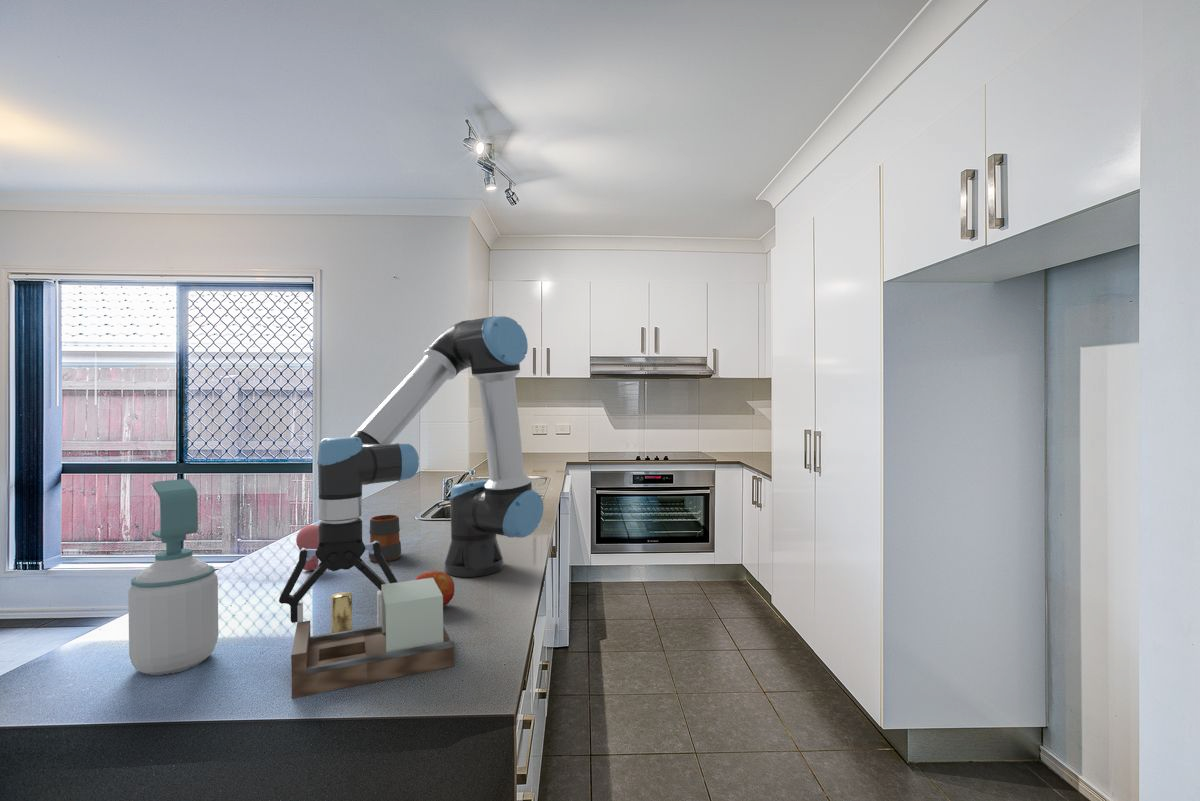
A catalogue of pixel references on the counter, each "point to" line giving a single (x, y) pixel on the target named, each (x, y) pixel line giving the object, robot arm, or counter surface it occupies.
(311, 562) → the light bulb
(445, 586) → the apple
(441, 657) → the housing base
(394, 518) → the mug
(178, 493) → the soap bottle
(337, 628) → the brass peg
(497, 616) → the counter surface
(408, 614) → the cover
